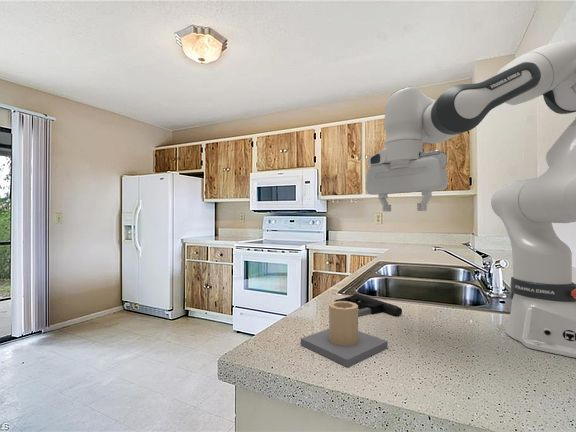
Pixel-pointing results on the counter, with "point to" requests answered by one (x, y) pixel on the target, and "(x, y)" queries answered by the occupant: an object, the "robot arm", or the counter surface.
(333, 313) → the paper roll
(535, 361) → the counter surface
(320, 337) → the roll holder
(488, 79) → the robot arm
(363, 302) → the black two-tone tubular device
